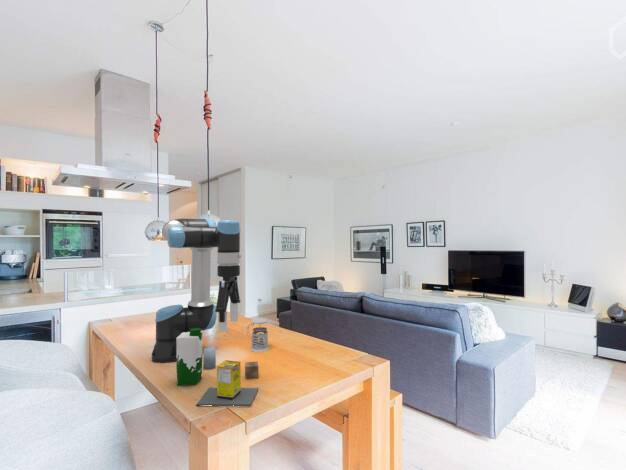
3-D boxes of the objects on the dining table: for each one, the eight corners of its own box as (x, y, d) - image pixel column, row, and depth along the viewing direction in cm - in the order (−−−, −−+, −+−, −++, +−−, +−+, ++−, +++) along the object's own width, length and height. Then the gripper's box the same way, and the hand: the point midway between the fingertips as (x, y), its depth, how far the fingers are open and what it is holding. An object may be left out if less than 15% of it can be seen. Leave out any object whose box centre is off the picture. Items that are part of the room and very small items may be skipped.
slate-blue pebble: (201, 369, 140) (201, 350, 140) (205, 365, 145) (205, 346, 145) (213, 369, 140) (213, 350, 140) (217, 365, 144) (217, 346, 145)
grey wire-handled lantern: (265, 352, 161) (265, 300, 161) (243, 350, 163) (243, 299, 163) (272, 346, 170) (272, 297, 171) (251, 344, 173) (251, 296, 173)
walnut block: (245, 379, 129) (245, 367, 130) (245, 374, 134) (245, 362, 134) (258, 378, 131) (258, 365, 131) (257, 373, 135) (257, 361, 136)
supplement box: (241, 392, 117) (240, 361, 117) (232, 400, 111) (232, 367, 111) (225, 390, 119) (225, 359, 119) (216, 398, 113) (216, 365, 113)
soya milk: (198, 385, 124) (198, 332, 124) (173, 386, 123) (173, 332, 124) (204, 376, 133) (204, 326, 133) (181, 377, 132) (181, 326, 132)
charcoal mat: (196, 406, 109) (196, 403, 109) (209, 389, 121) (209, 387, 121) (251, 406, 108) (251, 404, 108) (258, 390, 120) (258, 387, 120)
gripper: (229, 267, 103) (229, 336, 102) (247, 262, 128) (247, 317, 127) (205, 267, 103) (205, 336, 103) (228, 262, 128) (228, 317, 128)
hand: (228, 326), depth 115 cm, fingers open, 13 cm apart
